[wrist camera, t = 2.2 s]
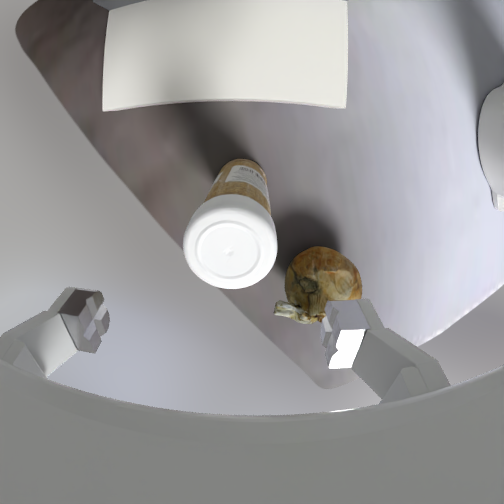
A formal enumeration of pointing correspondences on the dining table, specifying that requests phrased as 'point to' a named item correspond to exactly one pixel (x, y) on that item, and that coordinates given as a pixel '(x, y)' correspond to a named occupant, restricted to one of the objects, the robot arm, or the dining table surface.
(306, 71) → the white slab
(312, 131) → the dining table surface
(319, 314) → the onion
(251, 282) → the sprinkles bottle
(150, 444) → the robot arm
